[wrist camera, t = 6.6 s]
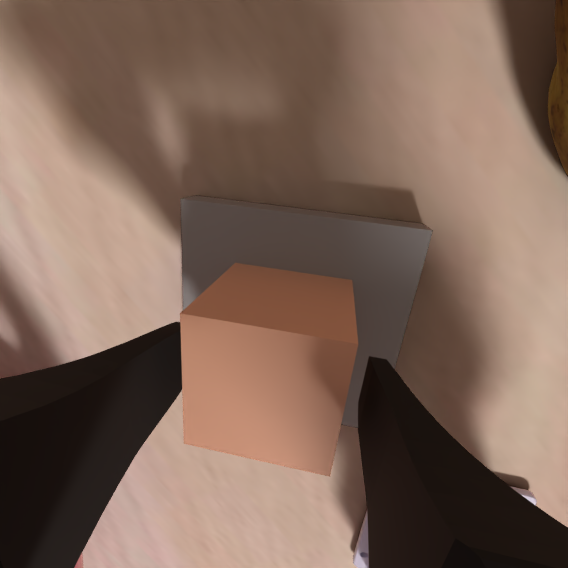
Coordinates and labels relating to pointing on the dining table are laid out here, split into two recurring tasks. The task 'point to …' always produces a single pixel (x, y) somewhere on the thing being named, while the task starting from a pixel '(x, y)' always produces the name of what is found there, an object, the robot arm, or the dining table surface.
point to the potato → (560, 85)
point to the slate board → (313, 263)
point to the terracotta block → (269, 365)
